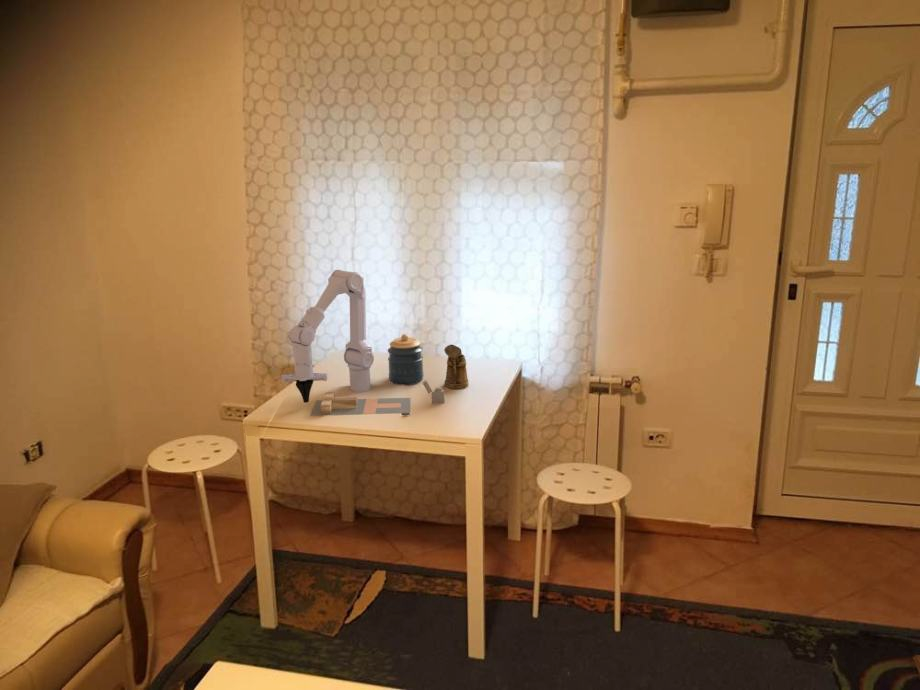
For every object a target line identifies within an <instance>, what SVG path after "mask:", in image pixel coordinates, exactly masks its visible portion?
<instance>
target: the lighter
mask: <svg viewBox="0 0 920 690" xmlns="http://www.w3.org/2000/svg"><path fill="white" fill-rule="evenodd" d="M422 385H423V386H424V389H425V390H426V391H427V393H428V394H431V404H433V405H437V404H445V389H442V387H435V388H434V389H431V386H430V385H429V383H428V381H427V380H424V381H422Z"/></svg>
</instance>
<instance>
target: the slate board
mask: <svg viewBox="0 0 920 690" xmlns="http://www.w3.org/2000/svg"><path fill="white" fill-rule="evenodd" d="M322 401H323V399H318V400H317V399H316V401H315V403H314V405H313V408H312V410H311V411H310V412H311V413H310V414H309V417H315V416H316V417H317V416H320V417H321V416H349V415H350V416H353V415H382V414H383V415H385V414H388V415H389V414H401V415H409V416H410V413H411V397H390V398H389V397H385V398H357V404H358V405H357V408H346V409H332V411H331V414H321V403H322Z"/></svg>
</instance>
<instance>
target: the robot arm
mask: <svg viewBox="0 0 920 690" xmlns="http://www.w3.org/2000/svg"><path fill="white" fill-rule="evenodd" d="M364 280H365V279H364V277H363V275H361V274H360V273H359V272H357V271H348V270H341V269H335V270H333V272H332V273H331V275H330V276H328V279H327V281H328V284H327V285H326V287H325V289H324V291H322V294H321V296H320V297H319V299H318V300H317V302H316V303H315V306H310V307H309V308H307V309H306V311H305V314H304V315H303V316H302V318H301V319H300V321H299V322H298V323H297V325H295V326H292V328H291V329H290V331H289V334H288V336H287V338H288V341H290V342H291V347H292V349H293V360H294V361H293V362H294V373H289V374H282V375H281V382H282V383H286V382H295V386H296V388H297V389H298V391H299V393H300V395H301V398H302V401H303V403H306V404H307V403H309V402H310V394H311V390H312V387H313V383H314V382H315V381H323V382H327V381H328V373H320V372H314V369H313V368H314V366H313V365H314V364H313V355H312V354H313V351H312V343H313V342H314V340H315V336H316V332H317V331H316V330H317V329H318V327H319V326H320V325H321V323H322V322H323V320H324V319H325V316H326V315H325V312H326V310H327V309H328V307H329V306H330V305H331V304H332V303H333V302H334V301H335V299H336V298H337V296H338V295H342V294H346V295H347V296H348V297H349V341H348V342H347V343H346V344H345V350H344V352H343V360H344V363H345V364H346V365H347V367H348V371H349V387H350V391H351V392H356V393H363V392H367V391H371V387H372V386H374V384H373V383H371V371H370V370H371V369H370V368H371V367H372V366H373V363H374V360H375V359H374V358H375V355H374V353H373V350H372V349H373V348H372V346H371V344H370V343H369V342H368V341H367V323H366V322H367V317H366V316H367V315H366V314H367V313H366V312H367V311H366V310H367V309H366V308H367V307H366V305H367V303H366V293H367V292H366V288H365V285H364V283H365V282H364Z"/></svg>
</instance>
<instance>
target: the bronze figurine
mask: <svg viewBox="0 0 920 690" xmlns="http://www.w3.org/2000/svg"><path fill="white" fill-rule="evenodd" d="M444 353H445V355H446V356H447V359H446V366H447V367H446V374H445V380H444V387H445V388H447V389H451V390H460V389H462V388H463V389H466V388H468V387H469V379H468V372H467V366H466V365H467V360H466V358H465V357H466V356H465V354H462V349H461V348H460V347H459V346H457V345H454V344H449V345H446V346H445V348H444Z"/></svg>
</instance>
